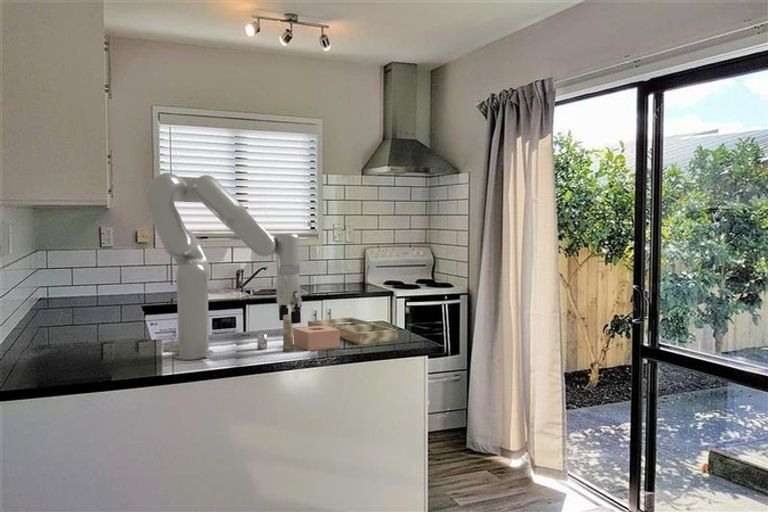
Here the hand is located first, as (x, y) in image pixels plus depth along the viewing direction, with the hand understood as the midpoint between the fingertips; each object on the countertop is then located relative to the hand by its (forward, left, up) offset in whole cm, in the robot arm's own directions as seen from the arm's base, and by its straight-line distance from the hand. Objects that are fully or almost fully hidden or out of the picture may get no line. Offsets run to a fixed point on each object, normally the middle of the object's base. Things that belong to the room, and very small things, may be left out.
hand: (289, 321), depth 201 cm
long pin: (-1, 0, -10) cm, 10 cm away
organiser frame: (+33, +15, -10) cm, 38 cm away
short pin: (-7, +8, -10) cm, 14 cm away
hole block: (+11, +3, -10) cm, 15 cm away
